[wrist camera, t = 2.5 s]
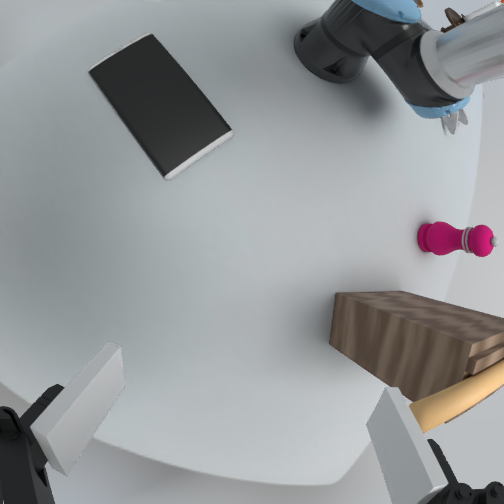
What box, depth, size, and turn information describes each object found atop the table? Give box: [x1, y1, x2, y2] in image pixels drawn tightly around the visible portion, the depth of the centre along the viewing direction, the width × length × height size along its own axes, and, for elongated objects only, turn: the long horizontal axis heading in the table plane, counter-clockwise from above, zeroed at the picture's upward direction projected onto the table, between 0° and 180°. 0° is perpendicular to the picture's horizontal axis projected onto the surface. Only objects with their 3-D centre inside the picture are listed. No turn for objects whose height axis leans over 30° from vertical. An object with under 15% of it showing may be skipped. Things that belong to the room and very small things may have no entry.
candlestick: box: [424, 0, 504, 33], centre depth 39 cm, size 11×11×35 cm
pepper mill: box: [418, 222, 499, 257], centre depth 47 cm, size 7×7×20 cm
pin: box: [409, 358, 504, 433], centre depth 21 cm, size 24×3×3 cm, turn 86°
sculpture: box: [442, 108, 468, 134], centre depth 53 cm, size 18×20×6 cm
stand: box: [329, 291, 504, 423], centre depth 38 cm, size 17×10×32 cm, turn 86°
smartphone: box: [88, 33, 233, 180], centre depth 40 cm, size 13×27×2 cm, turn 37°
